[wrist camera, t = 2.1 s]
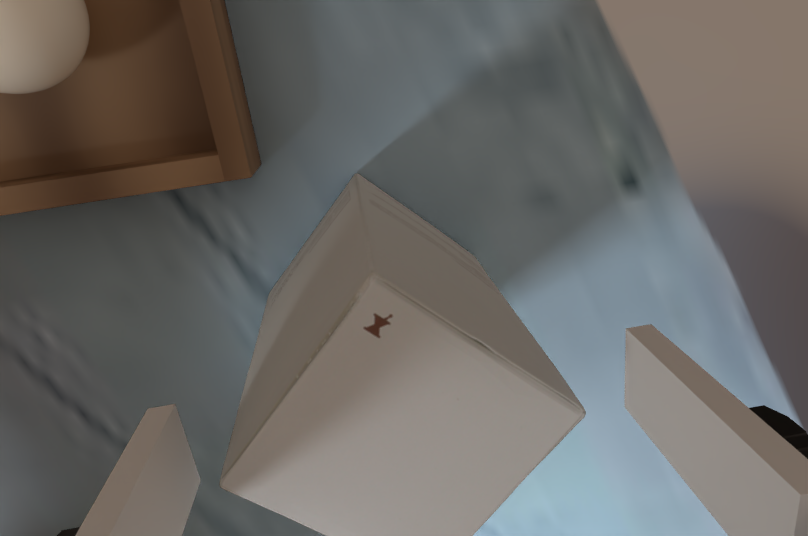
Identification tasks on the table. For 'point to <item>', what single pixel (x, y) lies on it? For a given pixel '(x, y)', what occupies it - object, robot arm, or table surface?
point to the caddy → (132, 111)
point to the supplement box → (391, 383)
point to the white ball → (40, 43)
